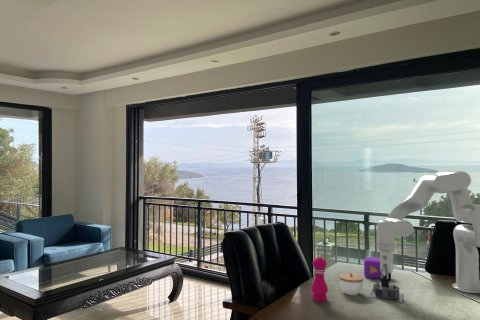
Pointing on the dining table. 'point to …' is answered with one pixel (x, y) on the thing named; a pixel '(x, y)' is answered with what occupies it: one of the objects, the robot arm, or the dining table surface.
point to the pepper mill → (319, 280)
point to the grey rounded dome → (387, 288)
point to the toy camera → (372, 267)
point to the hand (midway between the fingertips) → (386, 284)
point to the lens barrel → (386, 294)
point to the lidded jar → (351, 283)
